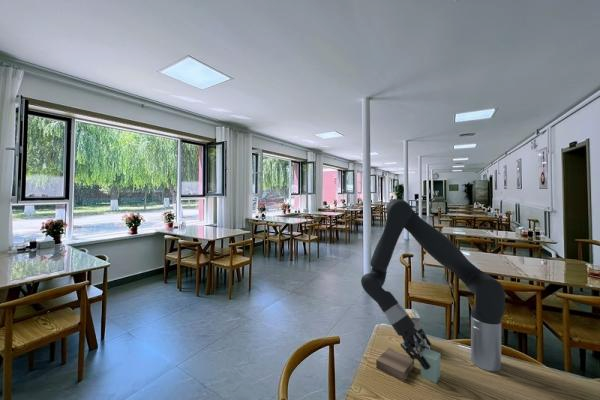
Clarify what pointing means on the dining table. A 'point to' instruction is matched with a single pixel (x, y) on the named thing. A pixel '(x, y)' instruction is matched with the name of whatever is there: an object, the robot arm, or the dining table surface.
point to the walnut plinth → (395, 364)
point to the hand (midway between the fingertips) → (431, 364)
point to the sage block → (431, 365)
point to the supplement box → (414, 317)
